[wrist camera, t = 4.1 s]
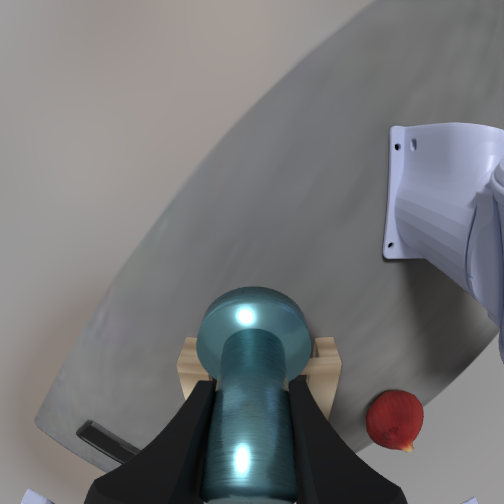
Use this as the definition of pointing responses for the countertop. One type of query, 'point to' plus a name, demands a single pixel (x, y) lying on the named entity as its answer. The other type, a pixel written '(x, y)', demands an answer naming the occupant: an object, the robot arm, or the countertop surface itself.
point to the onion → (395, 420)
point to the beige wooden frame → (317, 370)
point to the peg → (252, 395)
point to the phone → (106, 442)
